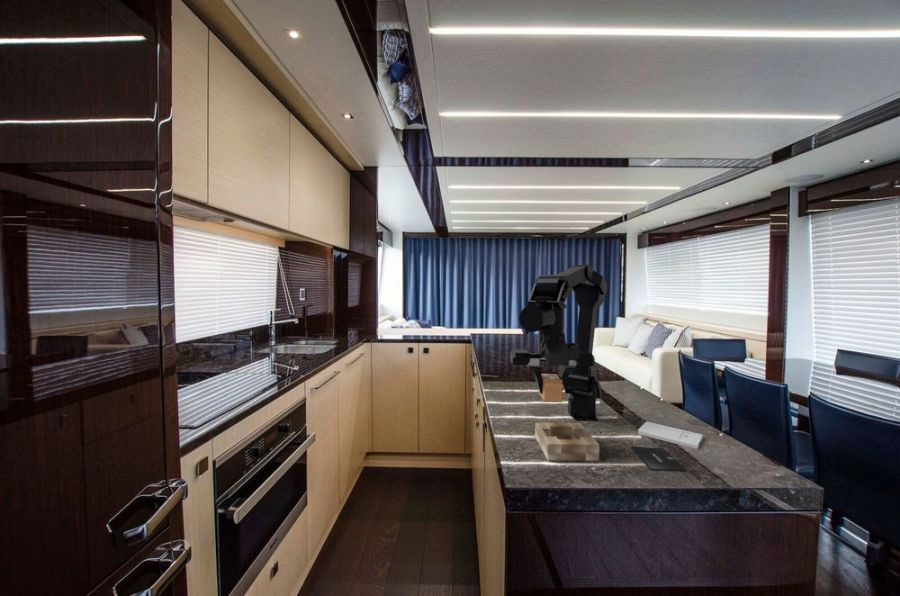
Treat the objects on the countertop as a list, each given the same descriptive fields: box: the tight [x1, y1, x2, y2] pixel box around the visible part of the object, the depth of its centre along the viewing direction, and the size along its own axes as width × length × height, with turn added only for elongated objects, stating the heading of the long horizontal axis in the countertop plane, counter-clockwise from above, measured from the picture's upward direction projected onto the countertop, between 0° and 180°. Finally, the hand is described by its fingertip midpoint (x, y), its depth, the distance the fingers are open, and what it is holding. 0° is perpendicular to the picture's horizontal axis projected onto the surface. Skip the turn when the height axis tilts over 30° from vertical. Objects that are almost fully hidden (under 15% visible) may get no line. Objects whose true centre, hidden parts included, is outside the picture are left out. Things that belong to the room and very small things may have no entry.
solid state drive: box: [630, 446, 687, 473], centre depth 77 cm, size 7×10×1 cm
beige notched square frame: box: [534, 422, 600, 462], centre depth 82 cm, size 11×12×4 cm
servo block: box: [538, 373, 564, 403], centre depth 86 cm, size 4×9×6 cm, turn 177°
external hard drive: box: [637, 421, 704, 450], centre depth 89 cm, size 2×8×12 cm
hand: (550, 393), depth 86 cm, fingers closed on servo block, 4 cm apart
